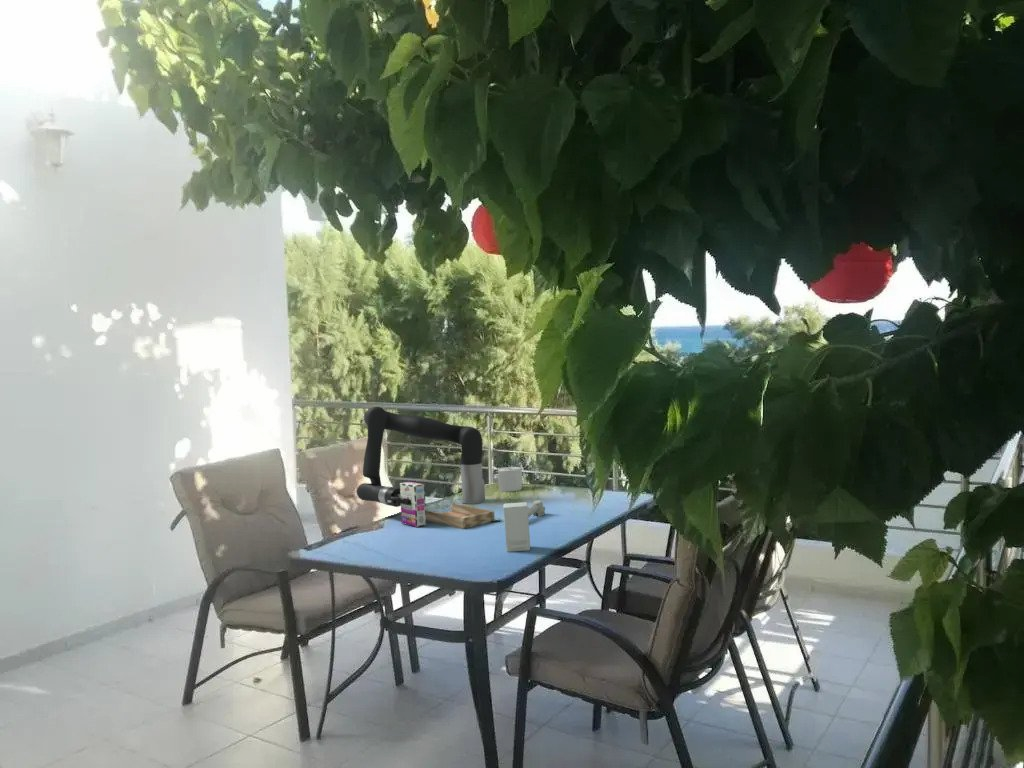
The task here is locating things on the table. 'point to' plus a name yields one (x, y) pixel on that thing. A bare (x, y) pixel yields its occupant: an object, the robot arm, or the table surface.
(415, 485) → the candy bar box
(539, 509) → the grey long piece
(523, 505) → the skincare box
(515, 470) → the toilet tissue
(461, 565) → the table surface
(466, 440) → the robot arm
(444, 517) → the tray
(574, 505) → the table surface
